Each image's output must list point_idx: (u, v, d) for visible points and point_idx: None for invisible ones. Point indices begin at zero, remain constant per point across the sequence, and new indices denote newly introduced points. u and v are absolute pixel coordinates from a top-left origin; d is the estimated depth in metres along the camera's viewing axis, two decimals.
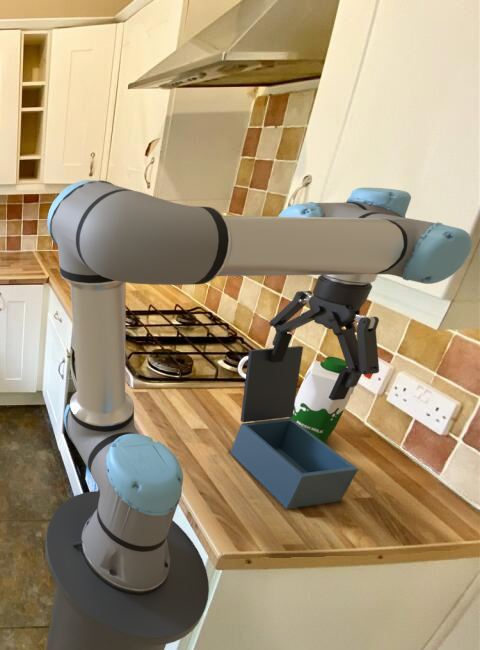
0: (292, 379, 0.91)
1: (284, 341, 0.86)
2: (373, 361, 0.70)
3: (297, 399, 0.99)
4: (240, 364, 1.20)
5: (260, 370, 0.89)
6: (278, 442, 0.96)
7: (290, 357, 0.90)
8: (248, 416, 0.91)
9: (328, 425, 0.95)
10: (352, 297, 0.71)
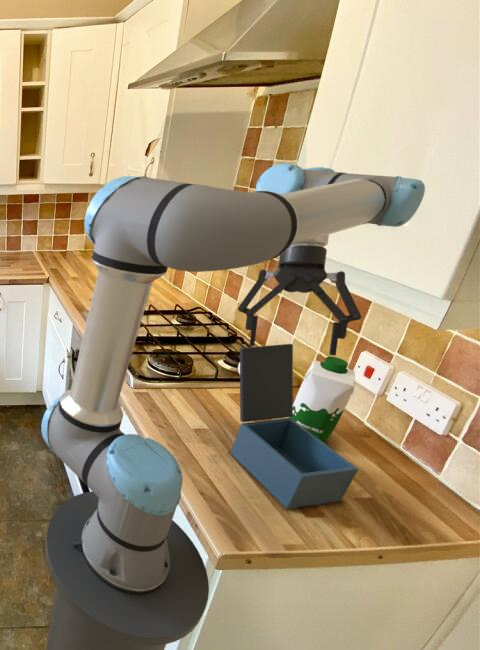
0: (286, 377, 0.92)
1: None
2: None
3: (297, 399, 0.99)
4: None
5: (253, 367, 0.91)
6: (278, 442, 0.96)
7: (281, 355, 0.92)
8: (247, 415, 0.91)
9: (328, 425, 0.95)
10: (324, 256, 0.81)
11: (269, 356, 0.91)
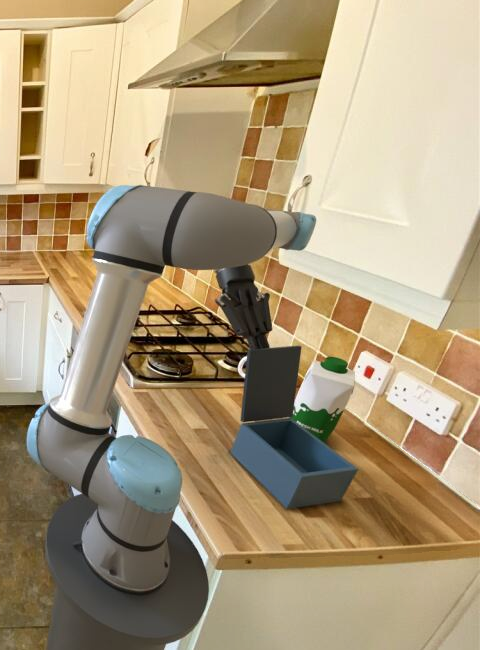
0: (291, 379, 0.91)
1: None
2: None
3: (297, 399, 0.99)
4: (240, 364, 1.20)
5: (259, 369, 0.89)
6: (278, 442, 0.96)
7: (289, 357, 0.90)
8: (248, 416, 0.91)
9: (328, 425, 0.95)
10: None
11: (276, 358, 0.90)
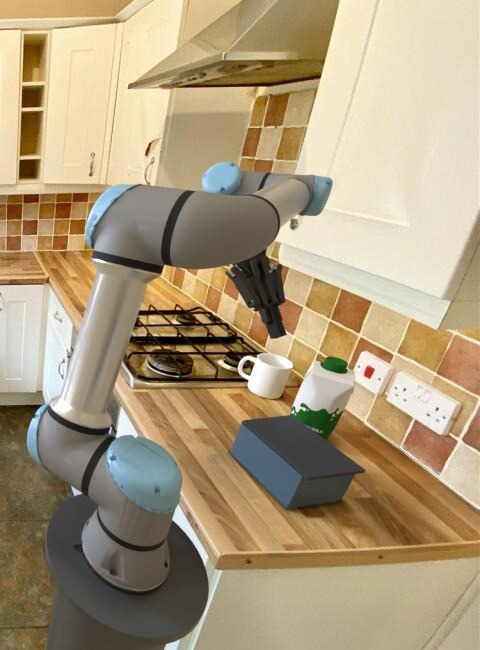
0: None
1: None
2: None
3: (297, 399, 0.99)
4: (240, 364, 1.20)
5: None
6: None
7: None
8: None
9: (328, 425, 0.95)
10: None
11: None
